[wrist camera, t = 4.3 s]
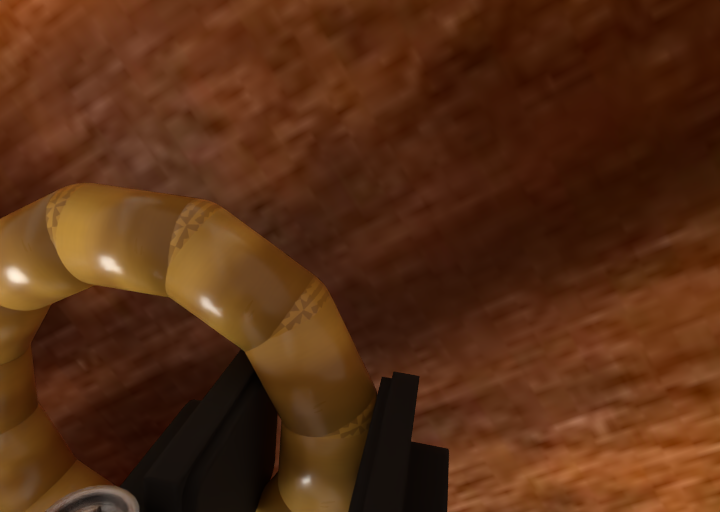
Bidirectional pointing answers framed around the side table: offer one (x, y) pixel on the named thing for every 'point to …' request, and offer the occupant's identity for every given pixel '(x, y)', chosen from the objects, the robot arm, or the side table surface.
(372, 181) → the side table surface
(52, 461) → the ring
